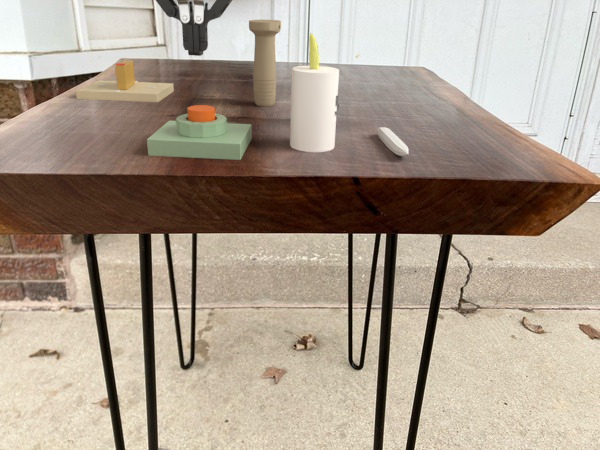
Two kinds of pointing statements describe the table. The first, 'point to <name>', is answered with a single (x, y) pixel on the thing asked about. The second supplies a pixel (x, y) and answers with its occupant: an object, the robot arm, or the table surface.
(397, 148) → the white faceted rod
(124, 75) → the thumbturn
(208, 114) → the bell button
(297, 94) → the candle
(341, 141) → the table surface
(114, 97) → the plate
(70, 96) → the table surface
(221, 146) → the green button mount
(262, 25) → the handle
